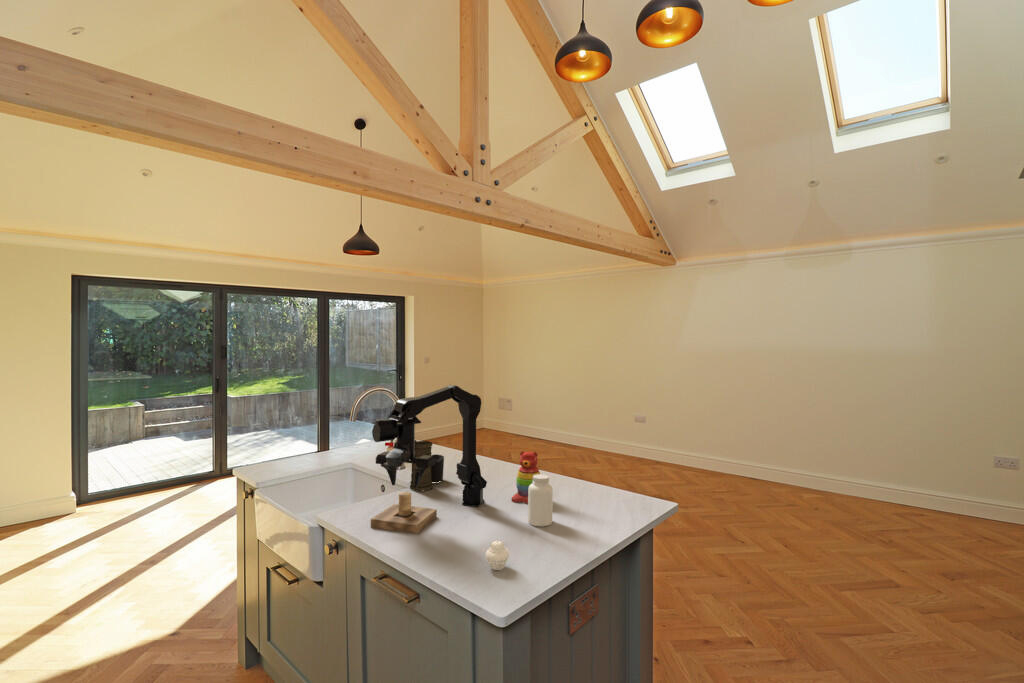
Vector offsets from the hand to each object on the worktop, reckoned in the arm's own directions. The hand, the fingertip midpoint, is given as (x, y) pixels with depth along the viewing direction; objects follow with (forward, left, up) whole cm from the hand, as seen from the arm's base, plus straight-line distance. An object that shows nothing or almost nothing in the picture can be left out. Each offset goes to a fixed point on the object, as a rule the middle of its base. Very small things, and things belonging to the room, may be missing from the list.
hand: (404, 486), depth 149 cm
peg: (0, 0, -12) cm, 12 cm away
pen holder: (+11, -43, -12) cm, 46 cm away
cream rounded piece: (-38, +20, -12) cm, 45 cm away
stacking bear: (-33, -33, -12) cm, 48 cm away
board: (0, 0, -11) cm, 11 cm away
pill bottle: (-42, -13, -12) cm, 46 cm away
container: (+11, -33, -12) cm, 37 cm away
